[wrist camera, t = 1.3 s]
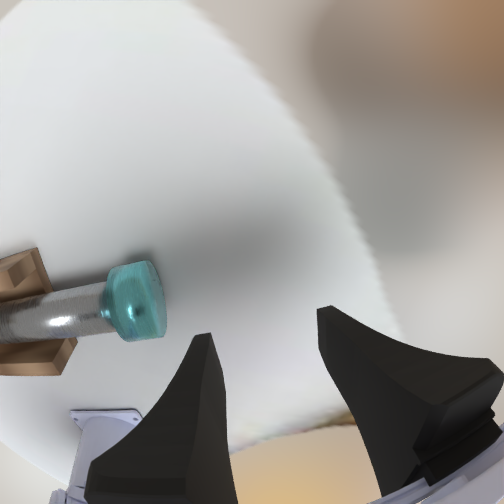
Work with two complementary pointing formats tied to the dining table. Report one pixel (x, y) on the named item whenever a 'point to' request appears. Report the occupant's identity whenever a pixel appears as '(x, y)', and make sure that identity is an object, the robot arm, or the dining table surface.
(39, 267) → the housing
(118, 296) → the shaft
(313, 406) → the dining table surface
